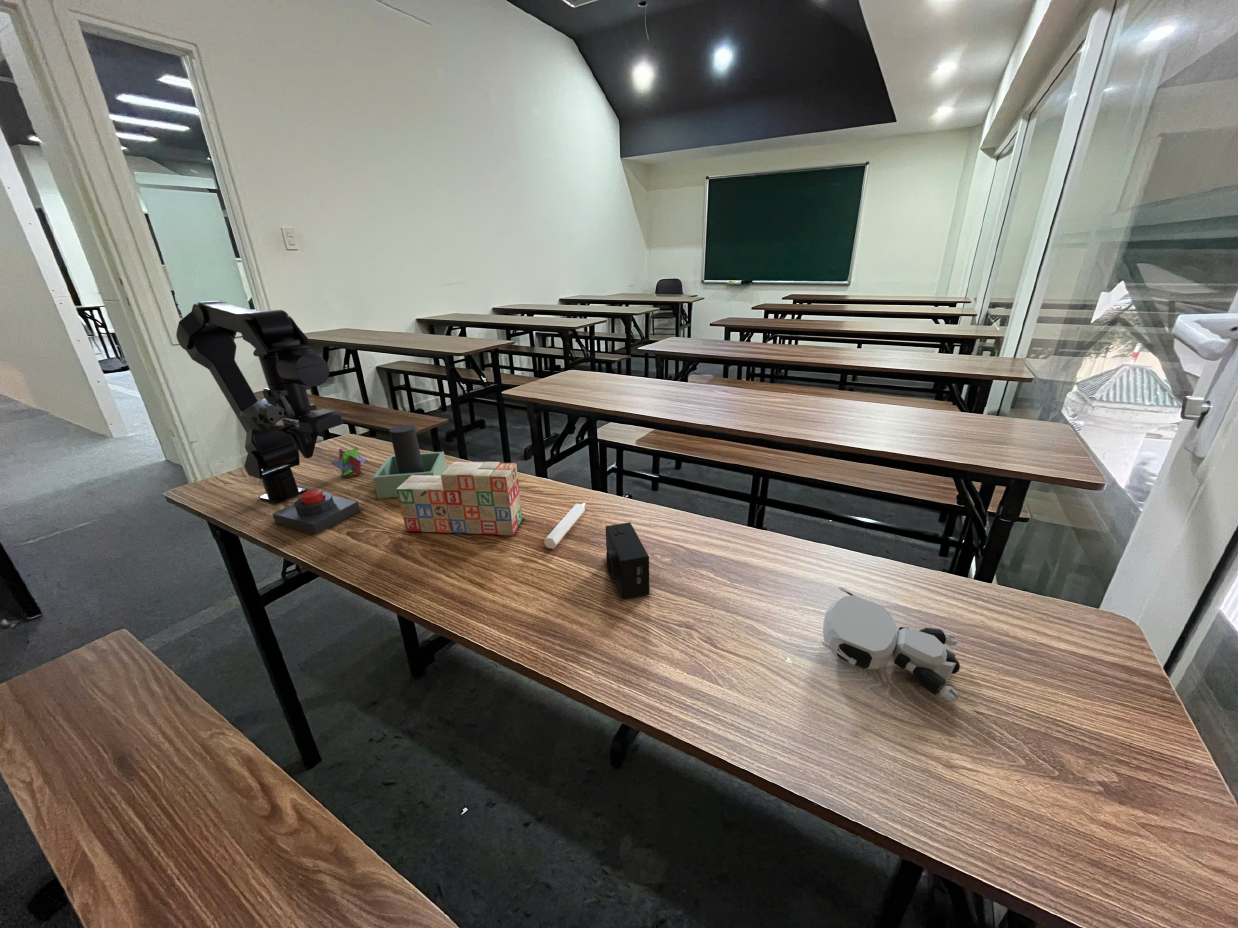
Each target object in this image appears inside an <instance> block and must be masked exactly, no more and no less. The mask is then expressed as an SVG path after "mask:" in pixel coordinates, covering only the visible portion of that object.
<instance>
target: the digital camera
mask: <svg viewBox="0 0 1238 928" xmlns="http://www.w3.org/2000/svg"><path fill="white" fill-rule="evenodd" d="M604 529H605V542H606V543H605V546H606V549H605V550H606V553H605V554H606V555H605V557H606V559H605V561H606V567H607V573H608V576H609V578H610V579H609V580H611V581H612V582H615V584H616V587H617V590H618V592H619V594H620V597H621V599H622V600H625V599H630V598H637V597H641V596H646V595H650V556H649V554H648V552H647V550H646V548H645V547H644V545H643V543H642V541H641V539H640V537H639V535H638V533H637V532H636V530H635V528H634V527H633V525H632V522H623V523H617V524H611V525H606V526H605V528H604Z"/></svg>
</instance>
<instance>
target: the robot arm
mask: <svg viewBox="0 0 1238 928" xmlns="http://www.w3.org/2000/svg"><path fill="white" fill-rule="evenodd" d="M237 333H239V334H241V337H242V340H243V341H245V342H247V343H249V344H250V345H251V347H252V348H254V350H253V352H252V354H253V356H254V357H257V358H258V360H259V364H260V366H261V369H262V372H263V375H264V376H263V377H264V379H265V381H266V385H267V387H265V388H263V391H262V395H263V398H262V399H260V400H258V398H257V396H256V394H255V392H254V391H253V389H252V388H251V386H250V384H249V382H248V380H247V379H246V377H245V376H244V373H243V372H242V370H241V368H240V367H239V365H238V364H237V361H236V360H235V359H236V352H237V344H236V342H235V339H236V336H237ZM308 338H309V337H308V336H307V335H306V334H305V333H304V332H303V331H302V330H301V329H300V327H299V326H298V324H297V323H296V322H295V320H294V319H293V318H292V317H291V315H289V313H288V312H286V311H285V310H283V309H271V310H270V309H269V310H257V311H256V310H253V309H248V308H244V307H241V306H237V305H233V304H231V303H228V302H226V301H222V300H210V301H208V300H207V301H197V303H194V304H192V307H191V311H190V312H189V313H187V314H186V315H185V316H184V317H182V318H181V319H180V320H179V321H178V324H177V329H176V340H177V343H178V344H179V346H180V347H181V348H182V349H183V350H185V351H186V353H187V354H188V356H189V357H190V359H191V360H192V361H194V362H196V364H199V365H201V367H203V368H205V369H207V370H209V372H210V374H211V375H212V377H213V379H214V381H215V382H216V385H217V386H218V387H219V389H220V391H221V392H222V394H223V396H224V397H225V399H226V401H227V402H228V404H229V407H231V410H232V411H233V413H234V415H235V416H236V418H237V419H238V422H239V423H240V425H241V426H242V428H243V429H244V431H245V433H246V435H245V442H244V449H245V451H246V452H247V455H246V459H245V462H244V465H243V467H244V469H245V471H246V473H247V475H248V477H253V478H255V479H259V480H261V482H262V485H263V488H264V491H265V493H264V494H262V495H260V496H259V499H260V500H263V501H267V502H272V503H275V504H279V503H282V502H285V501H287V500H289V499H291V498H294V497H296V496H298V495H301V494H303V493H305V492H307V490H306V488H304V487H299V486H298V485H297V481H296V478H295V476H294V473H293V470H292V468H293V467H296V466H300V465H301V461H300V454H301V455H302V456H303V457H304V458H305V459H310V458H312V457H313V456H314V451H315V448H316V443H317V440H318V437H319V433H321V432H325V431H327V430H330V429H333V428H336V427H338V426H341V425H343V424H344V420H343V416H342V414H341V412H339V411H337V410H332V409H328V408H322V409H318V410H317V405H316V404H315V403H311V402H310V399H309V396H308V392H307V391H308V390H311V389H312V387H319V386H321V385H323V384H325V383H326V382H327V380H328V379H329V375H330V366H329V364H328V363H327V361H326V360H325V359H324V358H323V357H322V356H321V355H318V354H315V353H314V352H313V351H314V350H313V347H311V343H310V342H309V341H308V340H309V339H308Z"/></svg>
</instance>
